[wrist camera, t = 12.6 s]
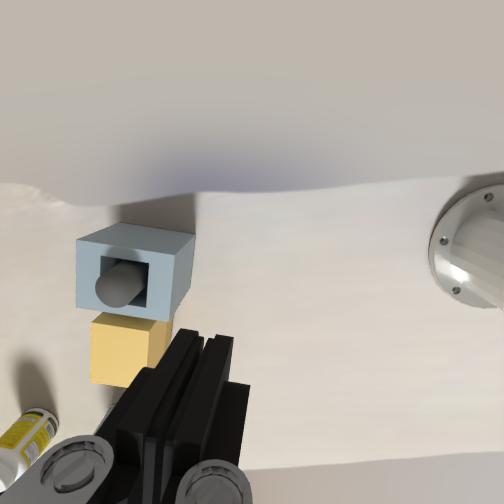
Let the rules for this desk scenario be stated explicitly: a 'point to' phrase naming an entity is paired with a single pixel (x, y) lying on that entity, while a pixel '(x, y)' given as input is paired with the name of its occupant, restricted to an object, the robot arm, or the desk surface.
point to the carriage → (125, 347)
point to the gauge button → (122, 283)
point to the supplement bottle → (24, 444)
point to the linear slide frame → (143, 250)
